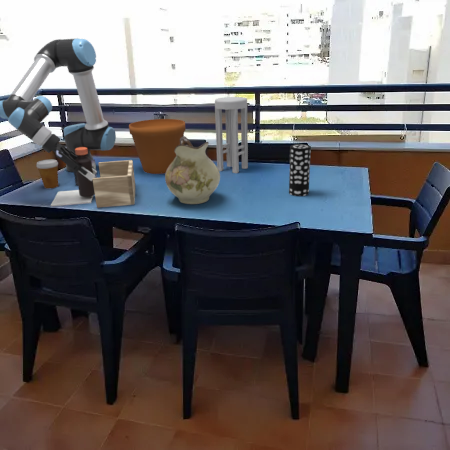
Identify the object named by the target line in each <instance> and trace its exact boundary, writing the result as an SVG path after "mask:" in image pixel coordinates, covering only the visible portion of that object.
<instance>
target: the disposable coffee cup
mask: <svg viewBox="0 0 450 450" xmlns="http://www.w3.org/2000/svg"><path fill="white" fill-rule="evenodd" d="M58 165H59V162H58V160H56V159H43V160H39V161H37V162H36V168H37V169H38V173H39V176H40V178H41V182H42V185H43V187H44V189H55V188H58V187H59V186H60V185H59V169H58V168H59V166H58Z"/></svg>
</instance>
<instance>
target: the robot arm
mask: <svg viewBox="0 0 450 450" xmlns="http://www.w3.org/2000/svg"><path fill="white" fill-rule="evenodd" d="M96 63H97V54H96V49H95V48H94V46H93V44H92V43H91V42H90V41H89V40H88V39H85V38H78V37H77V38H67V39H61V38H60V39H53V40H52V41H50V42H48V43H46V44H45V45H44V46H43V47H42V48H41V49H39V51H38V52H37V53H36V54H35V55H34V58H33V62H32V64H31V66H30V67H29V68H28V70H27V71H26V73H24V75H23V77H22V79H20V81H19V83H18V84H16V86H15V88H14V90H13V91H12V93H10V95H9V97H8V98H7V99H6V100H5V99H2V100H0V118H1V119H5V120H7V121H8V124H10V126H12V127H13V128H14V129H16V130H17V131H19V132H20V133H21V134H23V135H24V136H26V137H27V138H29V139H30V140H31V141H32V142H33V144H34V145H35V144H36V145H37V146H39V147H41V148H42V150H44V151H45V152H47V153H49V154H50V153H51V152H53V153H55V157H56V158H57V159H58V160H61V161H62V162H63V163H64V164H65V167H66V168H65V169H66V171H68V172H71V173H74V171H75V172H76V173H77V172H78V171H79V172H80V173H81V174H83V175H84V176H85V177H86V178H88V179H89V180H90V181H92V180H93V178H94V177H95V174H96V173H98V171H97V169H96V170H94V169H93V168H92V169H93V174H92V173H91V172H90V171H89V170H87V169H85V168H84V167H83V168H82V166H81V165H80V164H78V163H77V162H76V161H75V159H76V158H77V156H76V153H75V149H76V148H79V147H86V148H87V149H88V155H87V156H88V157H89V158H90V159H94V157H93V155H92V154H91V151H110V150H112V149H113V148H114V146H115V144H116V138H117V137H116V136H117V134H116V131H115V129H114V127H112V126H110V125H109V122H108V121H107V119H106V120H105V119H104V115H103V111H102V107H101V104H100V103H101V102H100V99H99V95H98V92H97V88H96V83H95V80H94V77H93V70H94V68H95V67H94V65H95V64H96ZM60 67H67V71H68V73H69V74H71V75H72V77H73V79H74V83H75V87H76V89H77V94H78V97H79V101H80V104H81V107H82V111H83V115H84V118H85V121H86V123H84V122H83V123H77V124H72V125H68V126H66V127H64V128H63V137H64V142H65V144H61V143H59V142H60V141H61V138H60V137H59V136H58V135H56V134H55V133H52V131H51V130H50V129H49V128H47V127H46V126H45V125H44V124H42V122H43V121H44V119H45V118H47V116H49V115H50V113H51V111H52V110H53V103H52V102H51V101H50V99H48V98H47V97H46V96H43V95H38V96H36V97H35V95H36V94H37V92H38V91H39V89H40V88H41V86H42V85H43V83H44V82H45V81H46V79H47V78H48V76H49V74H50V73H53V72H55V70H56V69H57V68H60ZM34 97H35V98H34ZM33 98H34V99H33ZM95 165H96V166H97V163H95Z"/></svg>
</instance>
